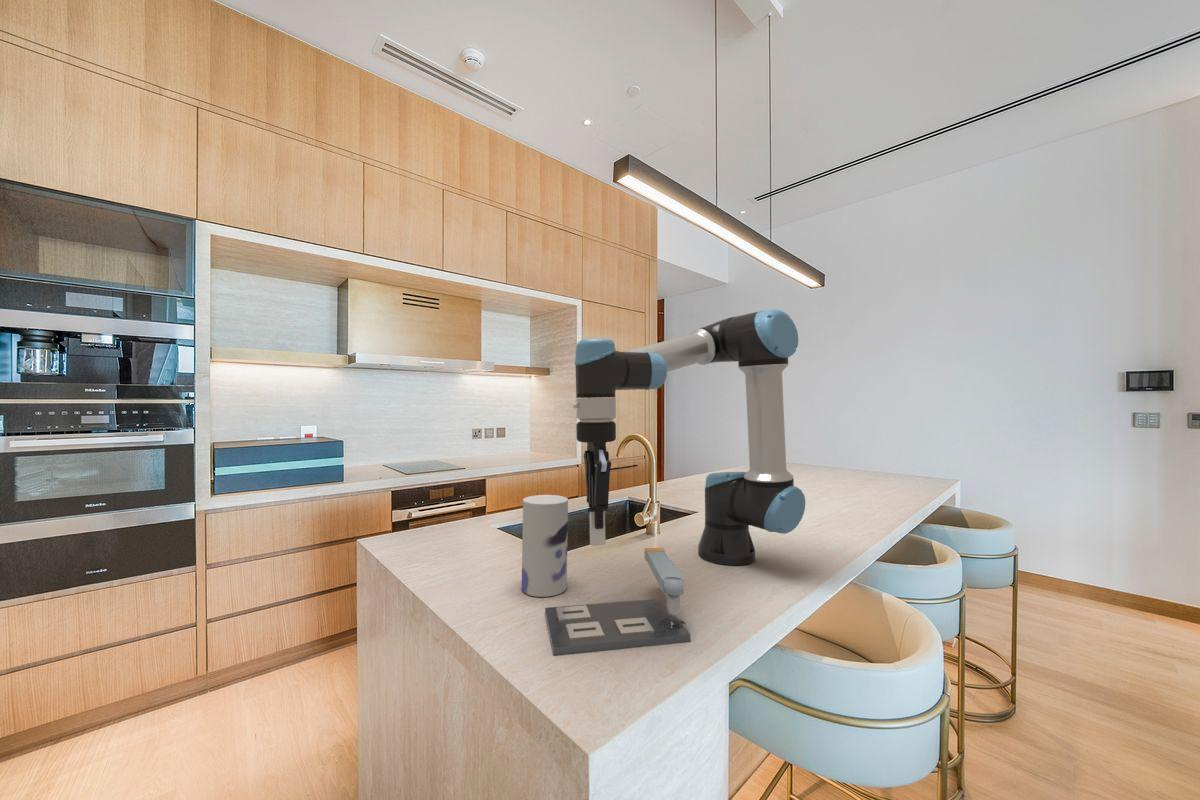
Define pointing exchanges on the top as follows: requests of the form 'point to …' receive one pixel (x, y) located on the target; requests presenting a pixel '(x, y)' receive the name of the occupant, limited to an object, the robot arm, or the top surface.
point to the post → (673, 612)
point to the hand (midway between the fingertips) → (597, 543)
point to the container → (544, 545)
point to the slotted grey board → (611, 626)
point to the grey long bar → (664, 571)
